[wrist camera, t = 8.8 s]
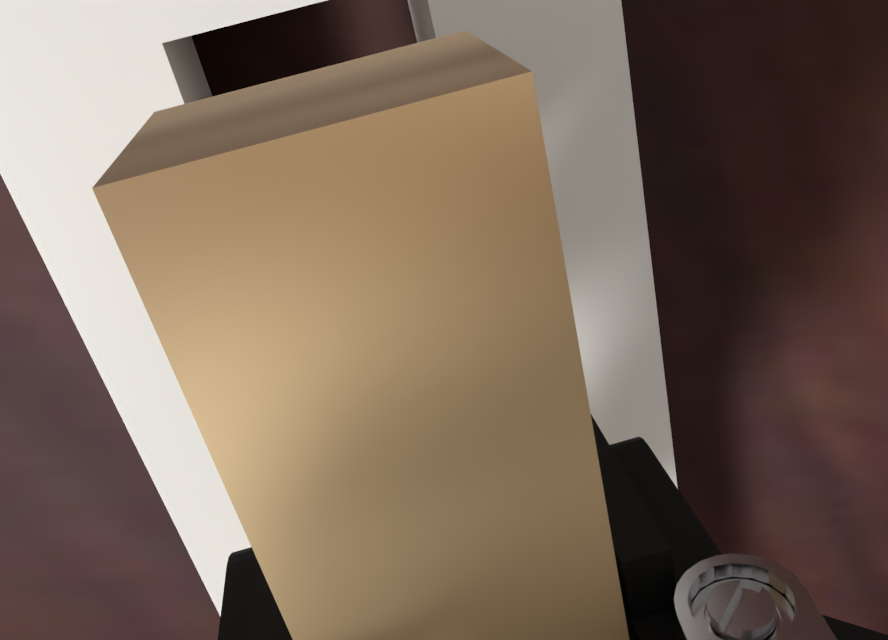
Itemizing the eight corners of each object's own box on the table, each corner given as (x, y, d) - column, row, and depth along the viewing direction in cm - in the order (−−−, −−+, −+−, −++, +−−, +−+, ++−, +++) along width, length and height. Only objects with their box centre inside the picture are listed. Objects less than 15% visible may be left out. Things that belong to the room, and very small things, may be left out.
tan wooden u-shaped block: (209, 44, 12) (92, 188, 5) (405, -7, 12) (532, 71, 5) (417, 645, 18) (485, 1073, 11) (547, 607, 18) (692, 1007, 11)
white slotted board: (-186, -394, 12) (-329, -489, 9) (487, -550, 12) (541, -684, 9) (331, 744, 23) (336, 848, 21) (660, 644, 24) (706, 734, 21)
